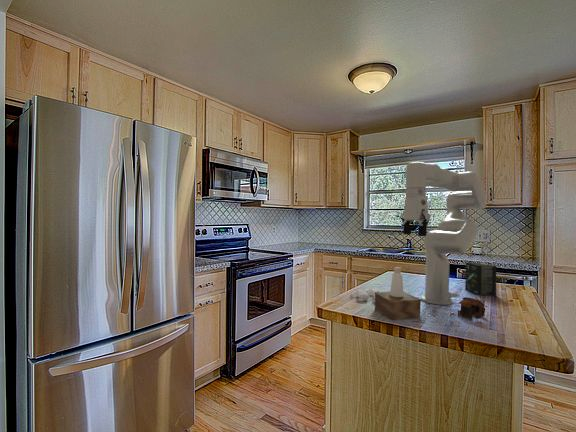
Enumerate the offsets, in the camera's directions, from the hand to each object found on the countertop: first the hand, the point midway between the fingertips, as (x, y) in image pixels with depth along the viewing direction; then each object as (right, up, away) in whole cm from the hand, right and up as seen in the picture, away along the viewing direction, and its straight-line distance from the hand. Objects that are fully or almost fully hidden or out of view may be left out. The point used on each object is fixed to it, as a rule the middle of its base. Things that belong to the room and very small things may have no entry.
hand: (414, 235), depth 125 cm
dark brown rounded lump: (+19, -31, -8) cm, 37 cm away
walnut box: (-9, -30, -6) cm, 32 cm away
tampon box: (+46, -31, +30) cm, 63 cm away
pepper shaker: (-9, -23, -6) cm, 26 cm away
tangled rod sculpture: (-15, -30, +17) cm, 38 cm away
